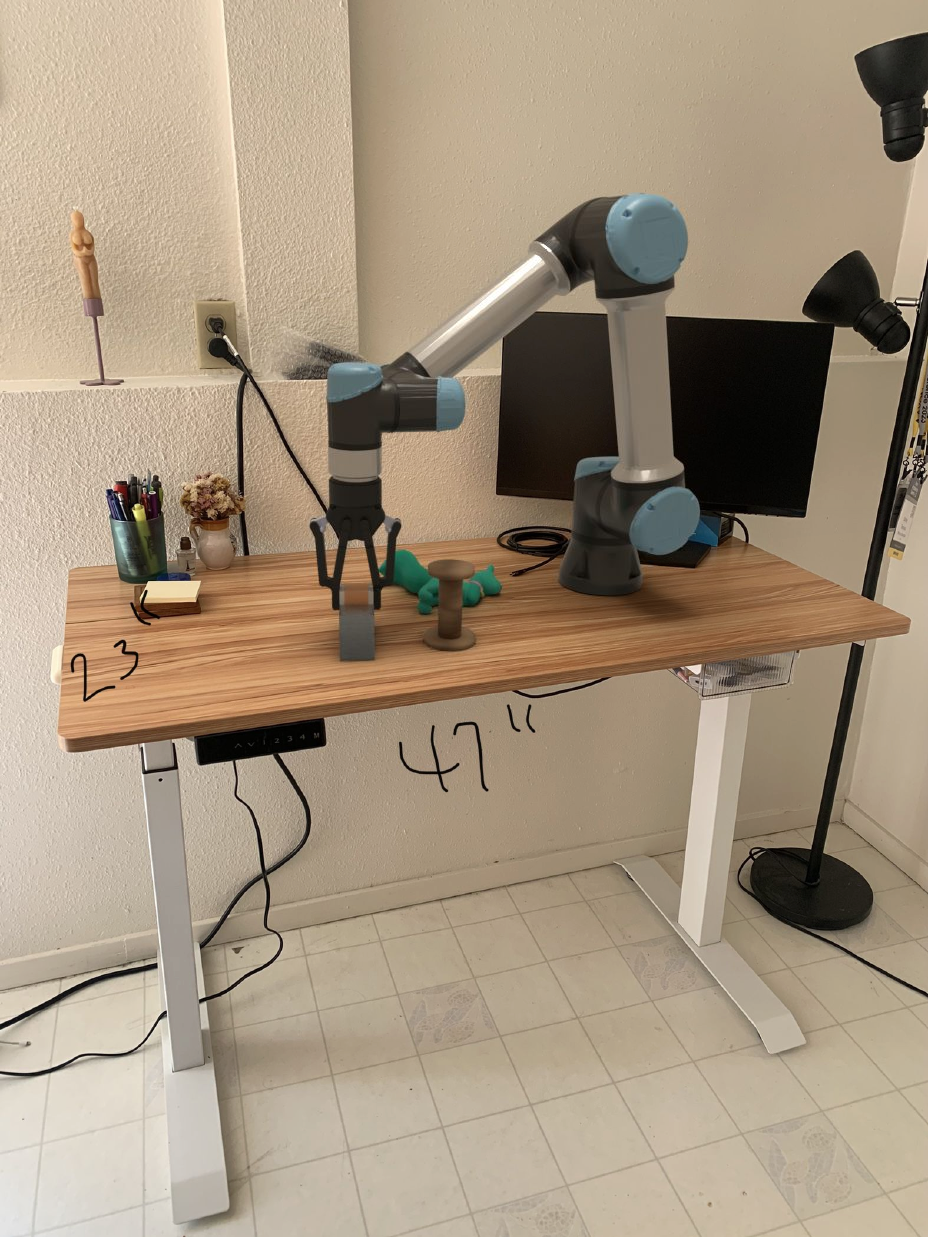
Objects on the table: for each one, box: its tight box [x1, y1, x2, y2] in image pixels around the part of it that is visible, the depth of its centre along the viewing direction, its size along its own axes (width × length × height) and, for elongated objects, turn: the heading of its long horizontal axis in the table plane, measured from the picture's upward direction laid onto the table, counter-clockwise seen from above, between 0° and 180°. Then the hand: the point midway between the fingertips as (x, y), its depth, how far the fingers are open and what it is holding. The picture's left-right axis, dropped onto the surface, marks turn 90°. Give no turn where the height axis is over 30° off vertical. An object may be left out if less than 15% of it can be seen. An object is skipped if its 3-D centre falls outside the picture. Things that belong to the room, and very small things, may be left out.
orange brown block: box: [344, 582, 369, 605], centre depth 139 cm, size 4×4×7 cm
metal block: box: [338, 582, 376, 662], centre depth 139 cm, size 5×14×7 cm, turn 6°
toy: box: [378, 549, 503, 615], centre depth 161 cm, size 7×22×20 cm
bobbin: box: [422, 558, 477, 652], centre depth 140 cm, size 8×8×12 cm
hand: (356, 629), depth 140 cm, fingers closed on orange brown block, 3 cm apart
